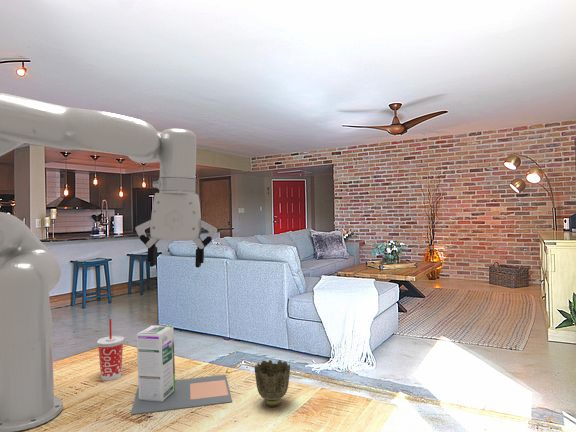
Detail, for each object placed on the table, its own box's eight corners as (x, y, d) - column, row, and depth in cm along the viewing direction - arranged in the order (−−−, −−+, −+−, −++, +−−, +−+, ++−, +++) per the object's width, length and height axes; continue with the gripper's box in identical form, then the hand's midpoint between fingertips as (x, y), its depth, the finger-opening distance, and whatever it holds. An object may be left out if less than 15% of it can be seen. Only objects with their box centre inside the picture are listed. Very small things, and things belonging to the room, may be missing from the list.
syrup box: (162, 402, 85) (161, 333, 85) (137, 400, 86) (136, 332, 86) (175, 390, 91) (174, 325, 90) (151, 388, 92) (150, 324, 92)
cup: (250, 411, 82) (250, 372, 81) (258, 394, 89) (258, 358, 89) (287, 414, 80) (287, 374, 80) (292, 396, 88) (292, 360, 88)
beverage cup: (92, 381, 97) (90, 322, 96) (106, 370, 103) (105, 315, 102) (116, 382, 96) (115, 323, 96) (129, 371, 102) (128, 316, 102)
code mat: (130, 414, 81) (130, 413, 81) (138, 385, 94) (138, 384, 94) (232, 402, 86) (232, 401, 86) (225, 375, 99) (225, 374, 99)
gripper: (131, 185, 84) (129, 267, 84) (215, 187, 85) (213, 269, 85) (142, 187, 92) (140, 263, 92) (219, 189, 92) (218, 264, 93)
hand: (175, 266), depth 88 cm, fingers open, 9 cm apart
